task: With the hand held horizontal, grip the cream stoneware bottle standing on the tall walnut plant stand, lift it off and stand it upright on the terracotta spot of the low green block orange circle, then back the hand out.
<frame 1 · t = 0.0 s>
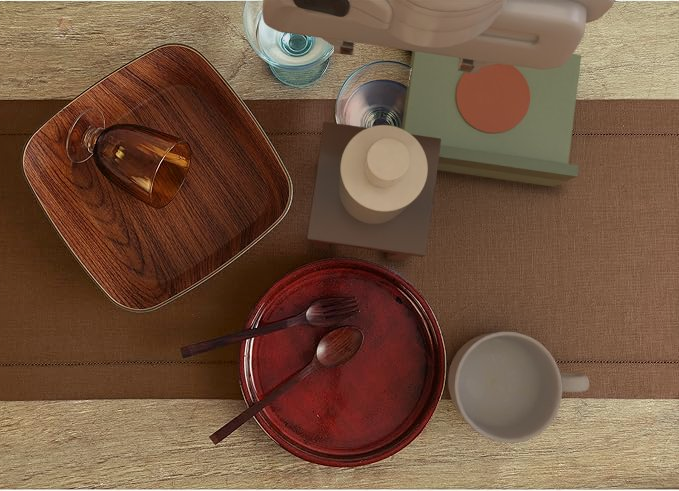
hand: (406, 53, 46), 23 cm above the table, tool pointing down, fingers open, 8 cm apart
stand: (362, 213, 69), on the table
teacup: (502, 377, 68), on the table
green block orange circle: (482, 116, 70), on the table
bottle: (374, 188, 51), point 18 cm above the table, touching stand
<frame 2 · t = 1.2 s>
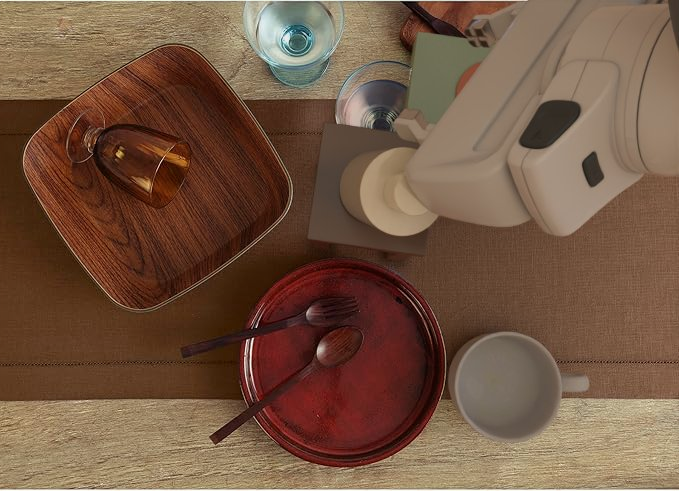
hand: (437, 76, 44), 25 cm above the table, tool tilted 45°, fingers open, 8 cm apart
bottle: (375, 187, 50), point 19 cm above the table, tilted 13°, touching gripper, stand
everything else where it was.
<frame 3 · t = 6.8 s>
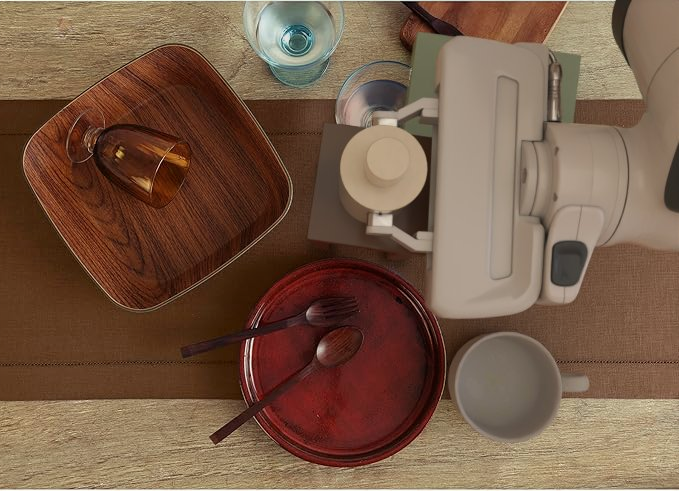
hand: (369, 173, 44), 25 cm above the table, tool horizontal, fingers closed on bottle, 6 cm apart
bottle: (374, 188, 51), point 18 cm above the table, touching gripper, stand
everything else where it was.
when the fingers open (11 cm above the table, at t = 16.2 s): bottle stays where it is, resting on green block orange circle.
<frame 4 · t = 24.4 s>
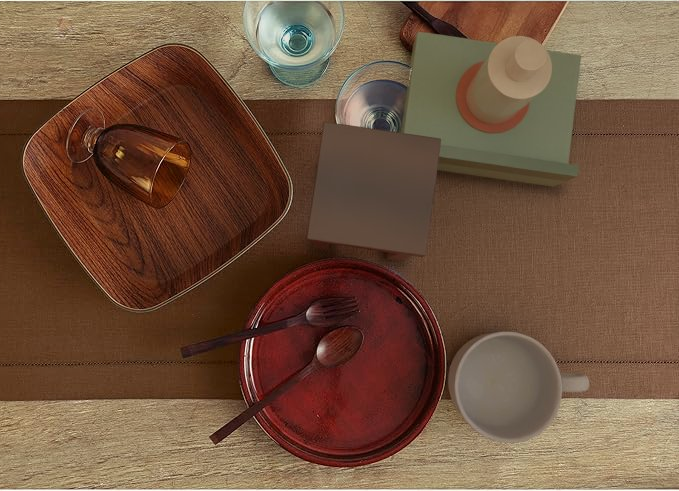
bottle: (493, 96, 65), point 4 cm above the table, touching green block orange circle
everything else where it was.
at the end: bottle 0.1 cm from the target spot on the green block orange circle, point 4.2 cm above the green block orange circle's base; bottle tilted 0°; the gripper is holding nothing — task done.
